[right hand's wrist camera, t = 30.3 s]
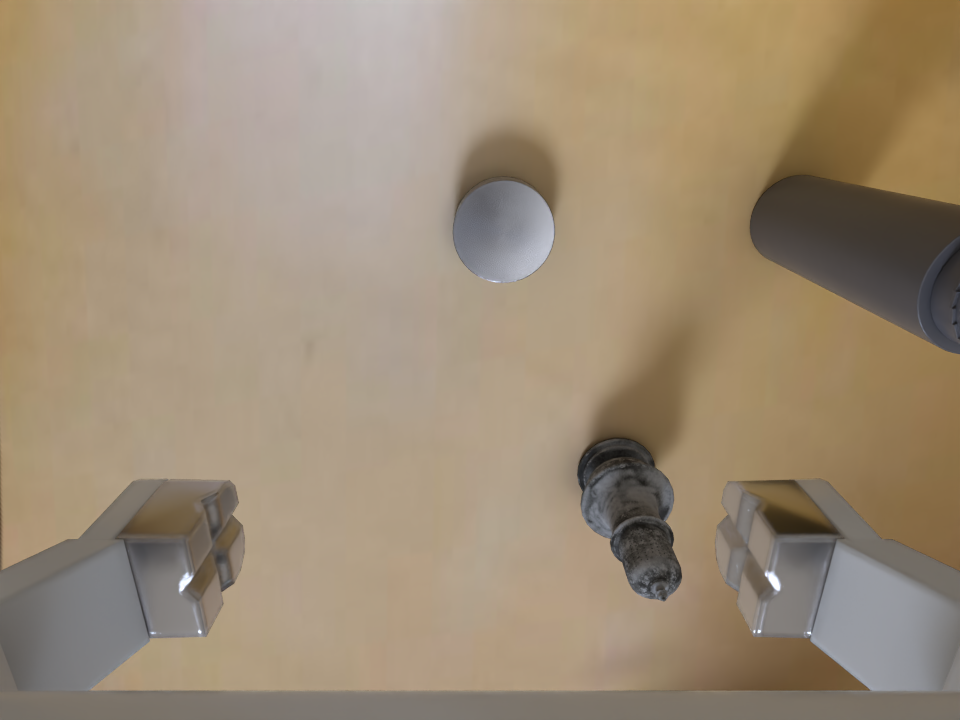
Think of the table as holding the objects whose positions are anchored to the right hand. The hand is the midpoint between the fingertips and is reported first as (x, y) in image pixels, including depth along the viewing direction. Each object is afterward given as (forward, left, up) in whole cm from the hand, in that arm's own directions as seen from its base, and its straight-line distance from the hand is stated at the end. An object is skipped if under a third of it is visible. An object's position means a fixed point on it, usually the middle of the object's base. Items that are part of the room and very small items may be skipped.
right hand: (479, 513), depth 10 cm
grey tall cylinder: (+14, -12, -28) cm, 34 cm away
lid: (+1, -1, -26) cm, 26 cm away
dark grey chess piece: (-4, -19, -28) cm, 34 cm away
